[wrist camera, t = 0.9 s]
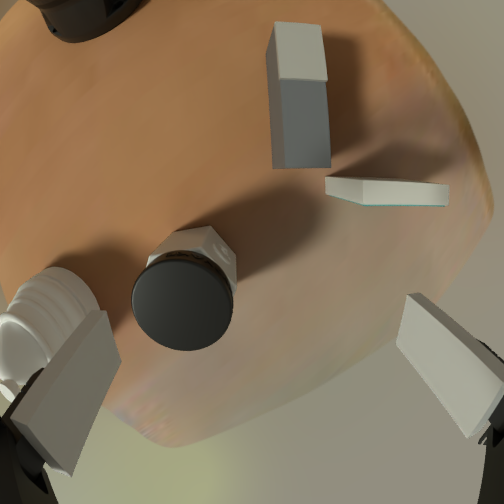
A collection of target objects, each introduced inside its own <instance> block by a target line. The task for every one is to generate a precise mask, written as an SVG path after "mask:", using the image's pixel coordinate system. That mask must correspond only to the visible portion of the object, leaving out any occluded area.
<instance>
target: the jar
mask: <svg viewBox="0 0 504 504" xmlns="http://www.w3.org/2000/svg"><path fill="white" fill-rule="evenodd" d="M236 289H237V271H236V255H235V253H234V252H233V251H232V250H231V249H230V248H229V246H228V245H227V244H226V243H225V242H224V241H223V239H222V238H221V237H220V236H219V235H218V234H217V232H216V231H215V230H214V229H213V228H212V227H211V226H205V227H199V228H193V229H188V230H182V231H177V232H172V233H171V234H170V235H169V236H168V237H167V238H166V239H165V240H164V241H163V242H162V243H161V244H160V245H159V246H158V247H157V249H156V250H155V251H154V252H153V253H152V254H151V255H150V256H149V258H148V262H147V266H146V268H145V269H144V270H143V272H142V273H141V274H140V275H139V277H138V278H137V280H136V282H135V284H134V286H133V290H132V296H131V304H132V310H133V313H134V316H135V318H136V321H137V322H138V324H139V326H140V327H141V328H142V330H143V331H144V332H145V333H146V334H147V335H148V336H149V337H150V338H151V339H153V340H154V341H156V342H157V343H159V344H161V345H163V346H165V347H168V348H171V349H175V350H181V351H193V350H199V349H202V348H205V347H208V346H210V345H212V344H213V343H215V342H216V341H217V340H219V339H220V338H221V337H222V336H223V334H224V333H225V332H226V330H227V328H228V326H229V324H230V321H231V317H232V313H233V296H234V294H235V292H236Z"/></svg>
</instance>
